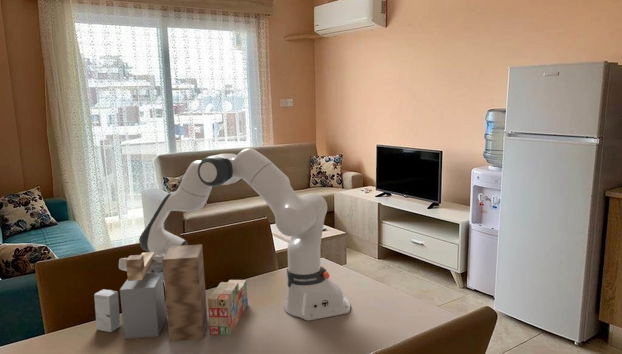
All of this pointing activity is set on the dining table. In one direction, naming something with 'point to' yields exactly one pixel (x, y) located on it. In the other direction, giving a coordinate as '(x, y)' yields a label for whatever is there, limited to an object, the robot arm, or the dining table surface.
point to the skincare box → (107, 310)
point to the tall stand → (185, 292)
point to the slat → (138, 265)
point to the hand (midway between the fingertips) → (145, 258)
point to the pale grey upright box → (143, 306)
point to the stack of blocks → (227, 306)
